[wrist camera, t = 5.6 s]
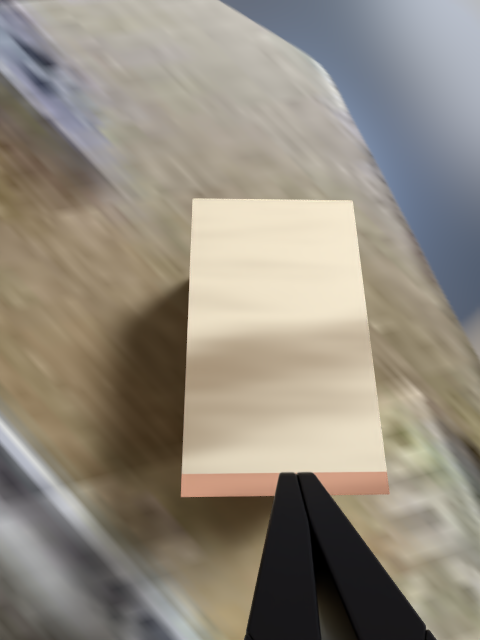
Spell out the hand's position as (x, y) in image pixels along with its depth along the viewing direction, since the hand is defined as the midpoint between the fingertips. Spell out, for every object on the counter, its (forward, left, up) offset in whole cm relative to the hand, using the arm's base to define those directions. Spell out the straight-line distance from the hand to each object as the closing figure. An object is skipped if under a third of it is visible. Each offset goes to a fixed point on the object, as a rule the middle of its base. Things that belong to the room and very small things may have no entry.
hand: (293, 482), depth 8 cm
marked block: (-1, 0, -5) cm, 5 cm away
